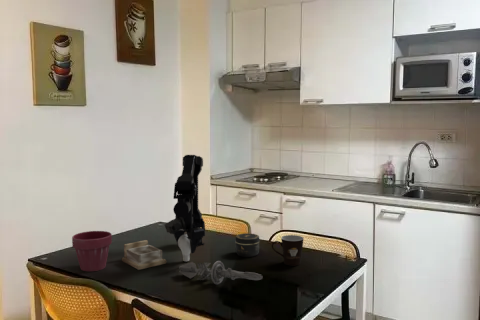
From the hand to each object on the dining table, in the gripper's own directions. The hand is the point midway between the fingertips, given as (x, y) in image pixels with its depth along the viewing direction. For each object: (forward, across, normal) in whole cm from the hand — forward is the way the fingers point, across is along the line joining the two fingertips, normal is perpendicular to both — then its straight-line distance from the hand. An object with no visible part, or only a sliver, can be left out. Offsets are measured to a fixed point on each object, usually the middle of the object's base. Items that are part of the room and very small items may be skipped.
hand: (186, 250), depth 181 cm
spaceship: (+5, +27, -4) cm, 28 cm away
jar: (+5, +8, +25) cm, 27 cm away
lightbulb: (+5, 0, 0) cm, 5 cm away
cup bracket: (+4, -10, -13) cm, 17 cm away
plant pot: (+5, -17, -31) cm, 36 cm away
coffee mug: (+5, +27, +30) cm, 41 cm away
